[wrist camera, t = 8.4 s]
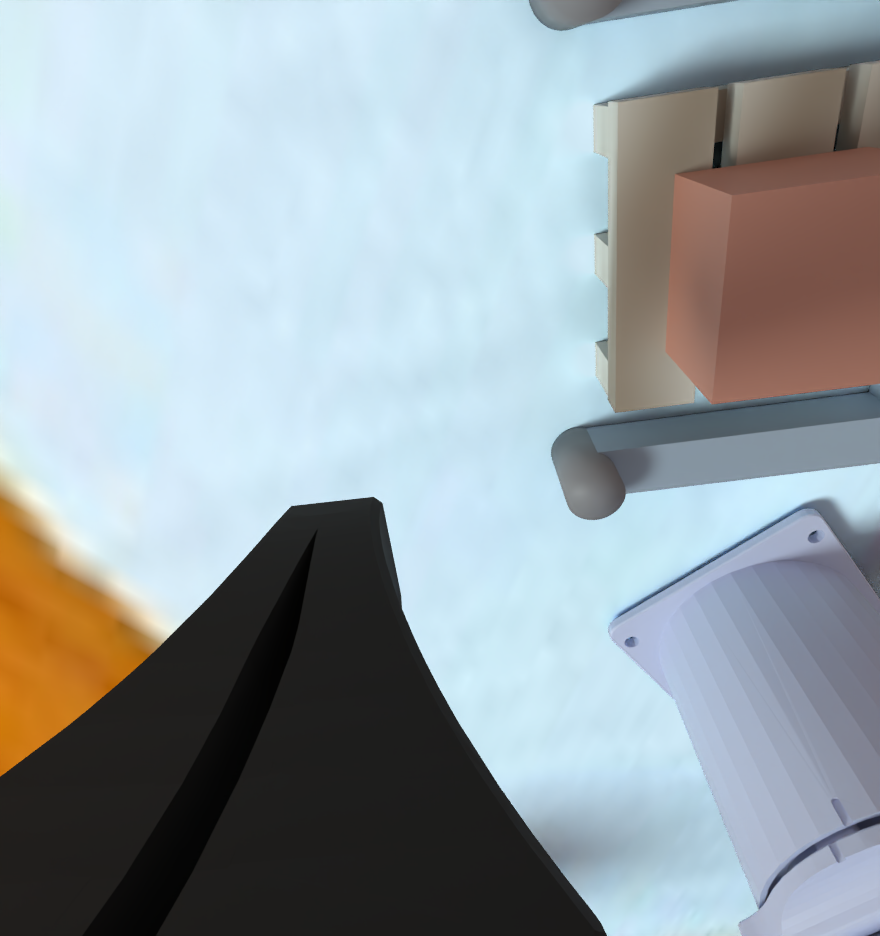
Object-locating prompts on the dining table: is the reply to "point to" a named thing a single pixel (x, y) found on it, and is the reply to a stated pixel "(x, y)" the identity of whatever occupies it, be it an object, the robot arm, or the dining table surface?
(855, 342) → the salmon pink block
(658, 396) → the pallet
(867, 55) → the dining table surface
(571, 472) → the dock
